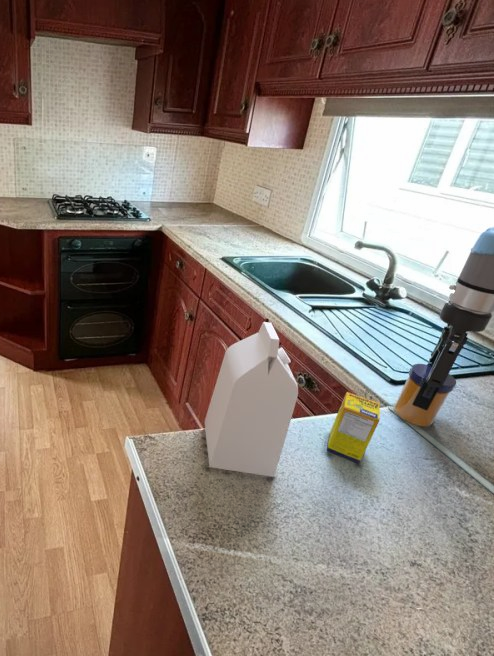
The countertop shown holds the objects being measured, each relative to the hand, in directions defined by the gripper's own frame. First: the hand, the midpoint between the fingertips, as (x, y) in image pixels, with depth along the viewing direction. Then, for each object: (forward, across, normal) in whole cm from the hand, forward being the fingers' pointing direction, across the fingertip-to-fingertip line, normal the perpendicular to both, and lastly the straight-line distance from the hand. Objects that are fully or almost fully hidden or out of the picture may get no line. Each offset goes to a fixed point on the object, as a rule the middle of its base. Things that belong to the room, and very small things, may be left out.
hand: (421, 397), depth 90 cm
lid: (-6, 0, 0) cm, 6 cm away
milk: (+5, +39, -26) cm, 47 cm away
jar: (+5, 0, 0) cm, 5 cm away
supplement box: (+5, +24, -10) cm, 26 cm away
